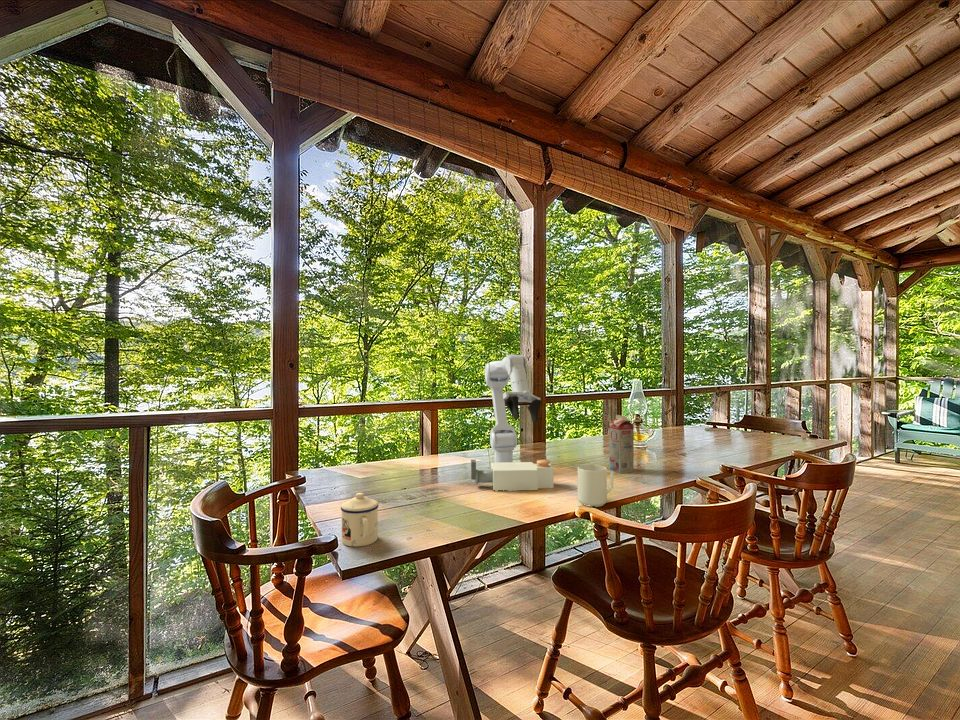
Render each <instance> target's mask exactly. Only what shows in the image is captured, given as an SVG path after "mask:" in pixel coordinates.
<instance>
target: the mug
mask: <svg viewBox="0 0 960 720" xmlns="http://www.w3.org/2000/svg"><path fill="white" fill-rule="evenodd" d="M608 473H610V475H609V476H610V477H609V479H610V480H609V487H608ZM614 473H615V472H614V471H612V470H609V469H608V468H607V467H606V466H604V465H600V464H594V463H593V464H589V463H587V464H580V465H578V466H577V501H578V502H579V504H581V505H582V504H585V505H590V506H595V507H594V508H598V507H603V506H605V504H607V501H608V494H609V493H610V492H611V491H612V490H614V483H615V481H614V478H615V474H614Z"/></svg>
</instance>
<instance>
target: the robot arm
mask: <svg viewBox="0 0 960 720" xmlns="http://www.w3.org/2000/svg"><path fill="white" fill-rule="evenodd" d="M526 367H527V360H526V356H525V355H524V354H515V353H512V354H507V355H506V356H504V357H503V358H502V359H501V360H494V361H490V362H489V363H488V362H487V363H486V364H485V365H484V378H485V384H486V386H487V387H489V388H490V391H491V397H492V404H493V413H494V414H493V415H494V419H495V420H494V421H495V425H494V427H492V428H491V430H490V431H489V442H490V447H491V448H492V449H493V450H494V455H493V456H494V461H493V463H499V462H514V459H513V457H514V454H513V453H514V451H515V449H516V448H517V445H518V436H517V433H516V430H515V427H514V426H512V425H510V424H509V423H508V417H507V410H506V408H507V409H508V410H509V411H510V414H511V415H512V417H513V420H514V421H517V420H519V418H520V411H519V403H529V406H527V410H528V412H529V414H530V416H531V417H530V419H531V422H532V423H533V424H536V423H537V422H538V421H539V412H540V407H541V404H542V400H541V397H540V396H539V397H538V396H536V395H534V394H532V393H531V391H530V388H529V383H528V378H527V374H526ZM509 382H510V386H511V391H505V392H504V387H506V386H508V383H509Z"/></svg>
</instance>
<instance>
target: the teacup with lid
mask: <svg viewBox="0 0 960 720" xmlns="http://www.w3.org/2000/svg"><path fill="white" fill-rule="evenodd" d="M379 506H380V505H379V502H378V501H377V500H375V499H373V498H369V497H367V496H365V494H364V493H363V492H358V493H356V494H355V496H354V497H353V498H351V499H350V500H346V501H344V502H343V503H341V506H340V510H341V542H342V544H343V545H345V546H348V547H353V548H358V547H360V548H361V547H366V546H369V545H371V544H374V543H375V542H376V541H377V540H378V531H379V529H378V526H379V525H378V524H379V523H378V522H379V520H378V519H379V518H378V517H379V513H378V508H379Z"/></svg>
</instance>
